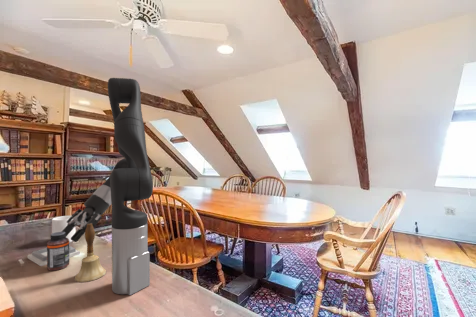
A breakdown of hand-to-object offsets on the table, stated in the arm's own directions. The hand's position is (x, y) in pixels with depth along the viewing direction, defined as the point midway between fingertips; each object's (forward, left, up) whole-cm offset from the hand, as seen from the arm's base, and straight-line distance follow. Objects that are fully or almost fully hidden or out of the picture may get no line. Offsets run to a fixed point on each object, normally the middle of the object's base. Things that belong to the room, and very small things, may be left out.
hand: (67, 238), depth 82 cm
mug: (+29, -9, -9) cm, 32 cm away
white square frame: (+12, 0, -9) cm, 15 cm away
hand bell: (-15, 0, -9) cm, 18 cm away
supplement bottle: (0, +3, -9) cm, 9 cm away
